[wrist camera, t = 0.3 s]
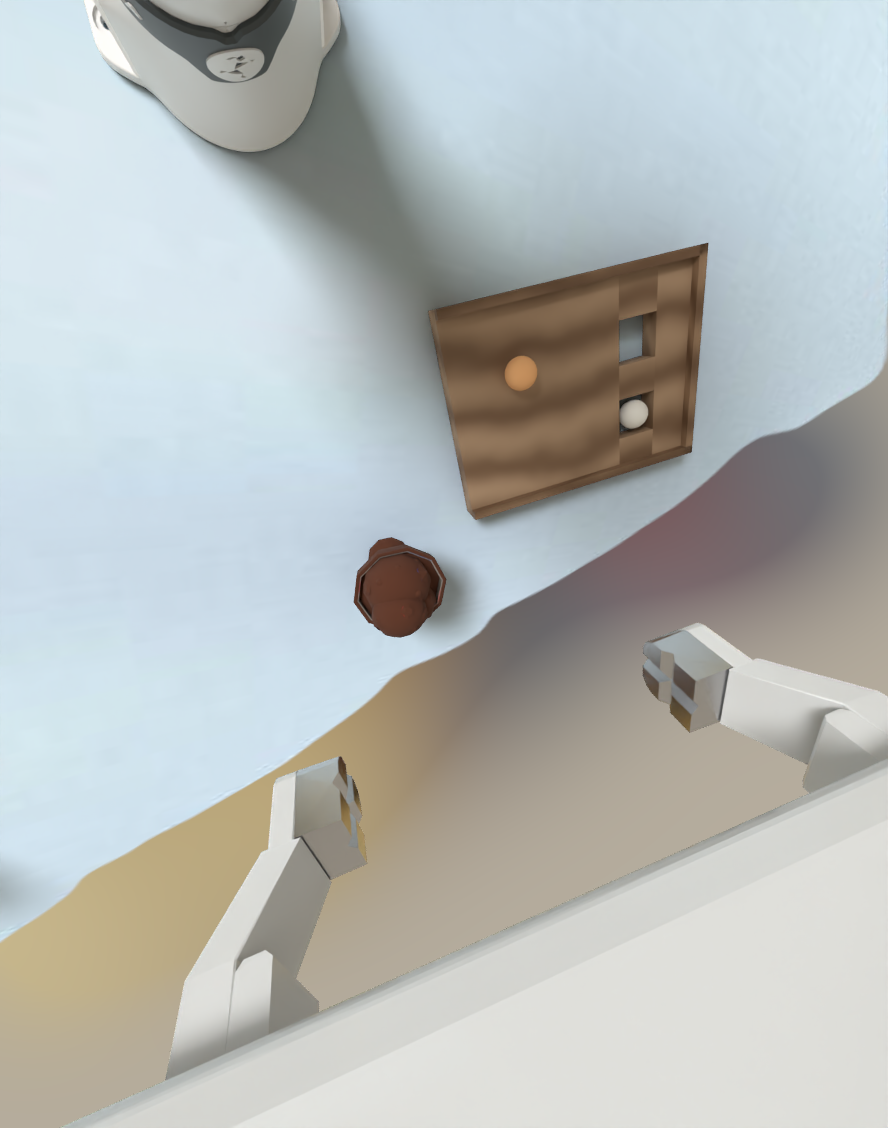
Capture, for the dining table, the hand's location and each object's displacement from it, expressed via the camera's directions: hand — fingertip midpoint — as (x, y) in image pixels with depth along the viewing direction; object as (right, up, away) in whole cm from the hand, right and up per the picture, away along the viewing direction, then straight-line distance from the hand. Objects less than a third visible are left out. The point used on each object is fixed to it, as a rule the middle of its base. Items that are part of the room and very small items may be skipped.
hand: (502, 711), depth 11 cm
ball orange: (+7, +25, +38) cm, 46 cm away
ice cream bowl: (-9, +5, +49) cm, 50 cm away
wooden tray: (+14, +26, +45) cm, 53 cm away
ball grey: (+23, +23, +47) cm, 57 cm away
